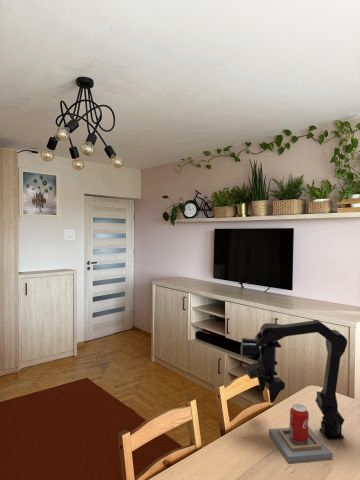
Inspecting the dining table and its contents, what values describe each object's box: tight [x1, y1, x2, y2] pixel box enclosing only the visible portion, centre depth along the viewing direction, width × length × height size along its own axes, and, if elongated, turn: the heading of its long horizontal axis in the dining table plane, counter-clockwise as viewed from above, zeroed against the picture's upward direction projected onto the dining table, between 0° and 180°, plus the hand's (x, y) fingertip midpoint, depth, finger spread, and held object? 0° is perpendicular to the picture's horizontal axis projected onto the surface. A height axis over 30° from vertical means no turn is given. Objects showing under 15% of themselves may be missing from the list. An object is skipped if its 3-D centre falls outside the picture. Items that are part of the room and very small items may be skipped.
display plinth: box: [268, 426, 333, 464], centre depth 124 cm, size 16×16×3 cm
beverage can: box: [289, 403, 310, 444], centre depth 124 cm, size 6×6×12 cm
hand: (266, 396), depth 133 cm, fingers open, 9 cm apart
